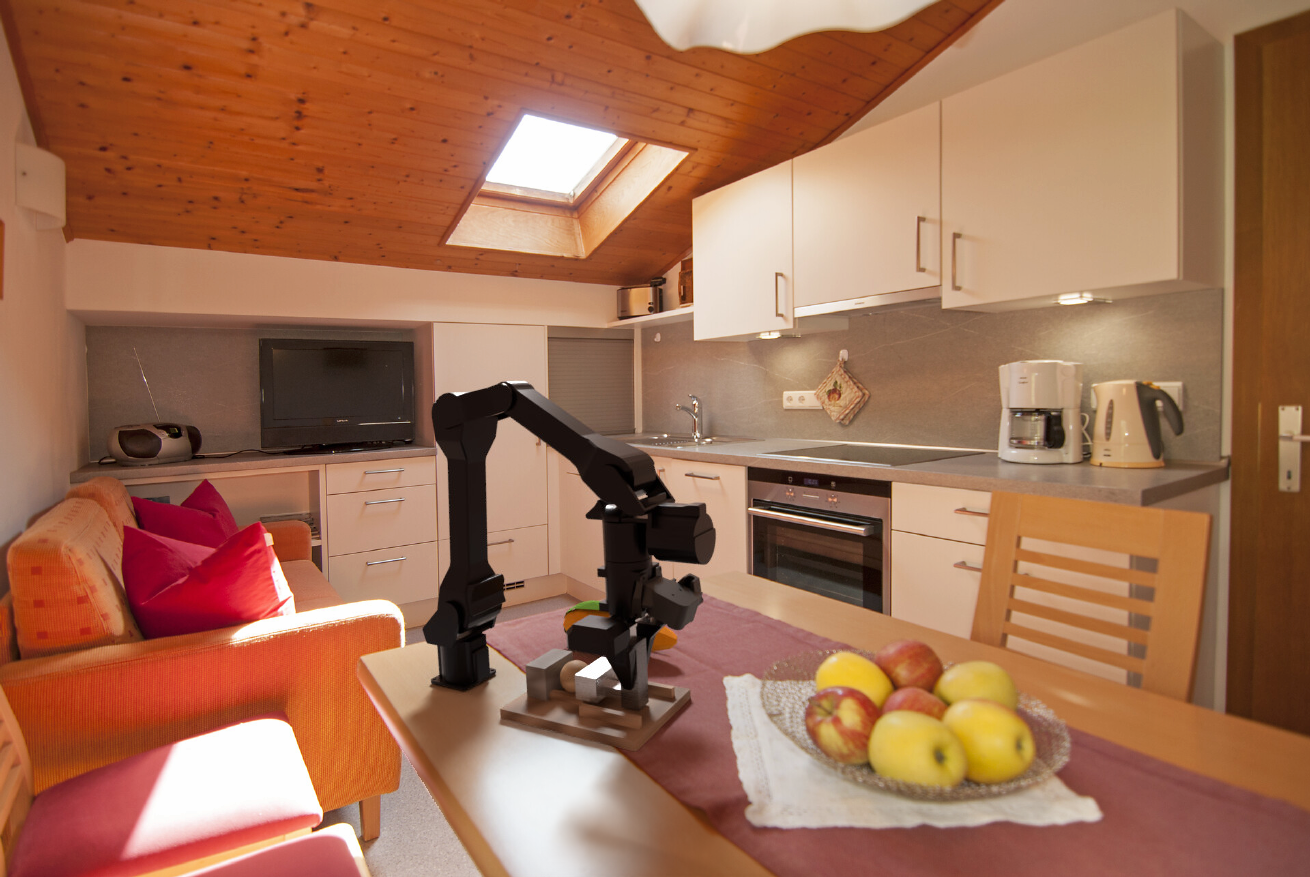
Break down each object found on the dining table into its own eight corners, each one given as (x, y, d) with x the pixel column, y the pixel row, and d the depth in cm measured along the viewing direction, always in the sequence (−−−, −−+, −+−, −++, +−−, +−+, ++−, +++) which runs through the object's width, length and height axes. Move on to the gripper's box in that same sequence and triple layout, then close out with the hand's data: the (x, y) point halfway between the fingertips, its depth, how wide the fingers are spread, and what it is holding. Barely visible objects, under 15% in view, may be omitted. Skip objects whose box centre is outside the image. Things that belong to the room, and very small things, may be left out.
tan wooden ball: (554, 695, 88) (552, 664, 87) (572, 682, 91) (571, 653, 91) (580, 701, 86) (579, 669, 85) (598, 688, 89) (597, 657, 89)
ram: (576, 705, 85) (572, 640, 84) (602, 685, 90) (599, 624, 90) (631, 717, 81) (628, 650, 81) (655, 695, 87) (653, 632, 86)
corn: (578, 587, 113) (689, 602, 103) (583, 632, 114) (692, 652, 104) (549, 603, 106) (664, 622, 96) (554, 651, 108) (668, 674, 97)
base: (500, 718, 86) (498, 676, 85) (567, 673, 98) (565, 636, 97) (636, 751, 77) (633, 704, 76) (690, 698, 89) (689, 657, 88)
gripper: (650, 585, 71) (656, 733, 72) (721, 544, 87) (726, 665, 89) (560, 575, 76) (567, 713, 78) (643, 538, 93) (648, 652, 94)
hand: (633, 684), depth 84 cm, fingers closed on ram, 2 cm apart
